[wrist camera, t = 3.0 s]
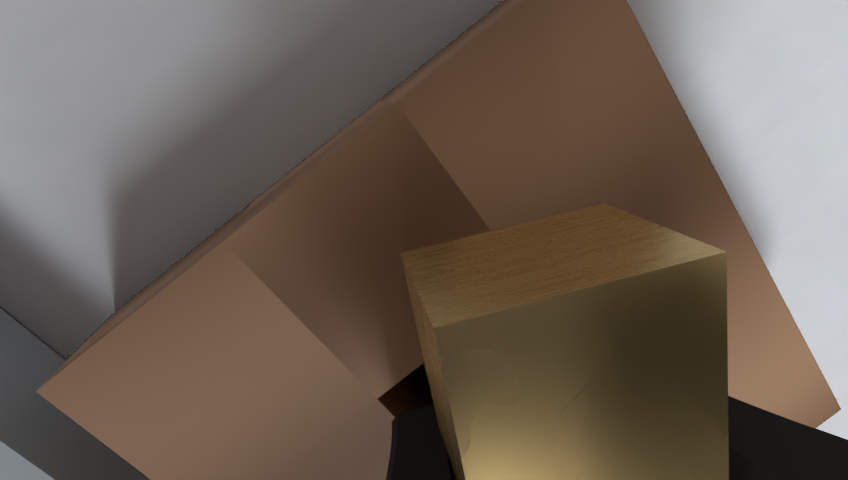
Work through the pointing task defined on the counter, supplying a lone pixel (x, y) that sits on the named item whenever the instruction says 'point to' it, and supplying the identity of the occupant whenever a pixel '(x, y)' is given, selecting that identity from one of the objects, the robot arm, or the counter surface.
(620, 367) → the t key
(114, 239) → the counter surface
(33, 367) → the tray
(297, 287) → the slot block
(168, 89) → the counter surface
